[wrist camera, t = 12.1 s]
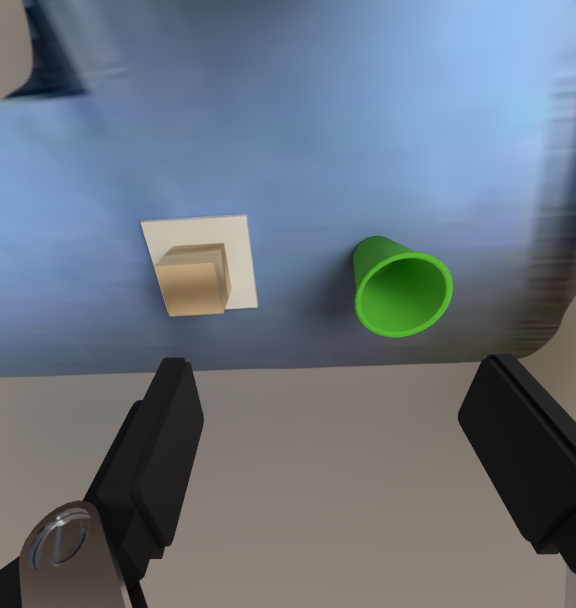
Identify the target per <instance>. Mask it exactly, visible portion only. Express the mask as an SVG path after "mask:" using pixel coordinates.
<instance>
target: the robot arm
mask: <svg viewBox="0 0 576 608" xmlns="http://www.w3.org/2000/svg"><path fill="white" fill-rule="evenodd" d="M458 421H459V423H460V426H461V427H462V429H463V431H464V433H465V435H466V436H467V438H468V440H469V442H470V443H471V445H472V447H473V449H474V451H475V452H476V454H477V456H478V458H479V459H480V461H481V463H482V465H483V467H484V468H485V470H486V472H487V474H488V476H489V477H490V479H491V481H492V483H493V485H494V486H495V488H496V490H497V492H498V494H499V495H500V497H501V499H502V501H503V503H504V504H505V506H506V508H507V510H508V511H509V513H510V515H511V517H512V519H513V520H514V522H515V524H516V526H517V528H518V529H519V531H520V533H521V534H522V536H523V537H524V538H525V539H526V540H528V541H529V542H531V544H532V546H533V548H534V550H535V551H536V553H537V554H558V553H559V552H560V554H561V555H562V557H563V559H564V560H565V562H566V564H567V567H566V590H565V608H576V422H575V421H574V420H573V419H572V418H571V417H570V416H569V415H568V413H567V412H566V411H565V410H564V409H563V408H562V407H561V406H560V405H559V404H558V403H557V402H556V401H555V400H554V398H552V396H551V395H550V394H549V393H548V392H547V391H546V390H545V389H544V388H543V387H542V386H541V385H540V384H539V382H538V381H537V380H536V379H535V378H534V377H533V376H532V375H531V374H530V373H529V372H528V371H527V370H526V369H525V367H524V366H523V365H521V363H520V362H519V361H518V360H517V359H516V358H515V357H514V356H513V355H510V354H491V355H488V356H487V358H486V359H484V360H482V362H481V364H480V366H479V368H478V371H477V373H476V375H475V377H474V379H473V382H472V384H471V386H470V388H469V390H468V392H467V395H466V397H465V399H464V401H463V403H462V406H461V408H460V410H459V412H458ZM203 422H204V417H203V412H202V408H201V404H200V400H199V395H198V391H197V387H196V383H195V379H194V375H193V371H192V367H191V363H190V362H185V359H184V358H164V359H163V360H162V362H161V364H160V366H159V368H158V370H157V372H156V374H155V376H154V378H153V380H152V382H151V384H150V386H149V388H148V390H147V393H146V395H145V397H144V399H143V400H138V401H136V402H135V403H134V404H133V406H132V407H131V409H130V411H129V413H128V415H127V417H126V419H125V420H124V422H123V424H122V426H121V428H120V430H119V432H118V434H117V436H116V438H115V440H114V441H113V443H112V445H111V447H110V449H109V451H108V453H107V455H106V457H105V459H104V461H103V463H102V464H101V466H100V468H99V470H98V472H97V474H96V476H95V478H94V480H93V482H92V484H91V486H90V488H89V489H88V491H87V493H86V495H85V497H84V499H83V501H74V502H70V503H66V504H64V505H62V506H60V507H58V508H56V509H55V510H53V511H52V512H51V513H49V514H48V515H47V516H45V517H44V518H43V519H42V520H41V521H40V522H39V523H38V524H37V525H36V526H35V527H34V529H33V530H32V531H31V533H30V534H29V536H28V537H27V539H26V540H25V543H24V545H23V547H22V550H21V553H20V556H19V557H17V558H16V559H15V560H13V561H12V562H11V563H9V564H8V565H6V566H5V567H4V568H2V569H1V570H0V608H152V607H151V604H150V601H149V598H148V595H147V592H146V589H145V586H144V584H143V581H142V578H143V577H144V576H145V573H146V570H147V567H148V563H149V560H150V559H162V557H163V553H164V549H165V546H170V545H171V543H172V541H173V539H174V535H175V531H176V528H177V524H178V520H179V515H180V512H181V508H182V504H183V501H184V497H185V493H186V489H187V486H188V482H189V478H190V474H191V470H192V466H193V462H194V459H195V455H196V451H197V447H198V443H199V440H200V436H201V432H202V428H203Z"/></svg>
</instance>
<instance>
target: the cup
mask: <svg viewBox="0 0 576 608" xmlns="http://www.w3.org/2000/svg"><path fill="white" fill-rule="evenodd" d="M353 265H354V275H355V284H356V294H355V298H354V305H355V312H356V314H357V317H358V319H359V320H360V322H361V323H362V324H363V326H365V327H366V328H367V329H369V330H370V331H371V332H374V333H376V334H379V335H381V336H386V337H404V336H409V335H413V334H415V333H418V332H420V331H423V330H424V329H426V328H427V327H429V326H431V325H432V324H433V323H434V322H436V321H437V320H438V319H439V318H440V317H441V316H442V314H443V313H444V311H445V310H446V309H447V307H448V305H449V302H450V300H451V297H452V290H453V283H452V277H451V274H450V272H449V270H448V268H447V266H446V265H445V264H443V263H442V262H441V261H440V260H439V259H438V258H436V257H434V256H432V255H430V254H426V253H421V252H415V251H412V250H410V249H408V248H406V247H404V246H402V245H400V244H398V243H396V242H394V241H392V240H390V239H387V238H385V237H382V236H373V237H370V238H367V239H365V240H364V241H362V242H361V243H360V244H359V245H358V247H357V248H356V250H355V252H354V255H353Z"/></svg>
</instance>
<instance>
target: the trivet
mask: <svg viewBox="0 0 576 608" xmlns="http://www.w3.org/2000/svg"><path fill="white" fill-rule="evenodd" d="M140 223H141V226H142V229H143V232H144V236H145V239H146V242H147V246H148V249H149V252H150V255H151V259H152V262H153V265H154V266H155V265H156V264H157V263H158V262H159V261H160V260H161V259H162V258H163V257H164V255H165V254H166V253H167V252H168V251H169V250H170V249H171V248H172V247H173V246H182V245H199V244H215V243H224V246H225V252H226V258H227V264H228V269H229V275H230V281H231V287H232V289H231V292H230V295H229V298H228V301H227V304H226V308H225V309H239V308H258V298H257V290H256V282H255V274H254V265H253V257H252V249H251V241H250V233H249V225H248V217H247V214H236V215H219V216H202V217H185V218H168V219H152V220H143V221H142V222H140ZM154 269H155V267H154ZM155 272H156V270H155ZM156 275H157V273H156ZM157 278H158V277H157ZM158 282H159V280H158ZM159 285H160V283H159ZM160 288H161V286H160ZM161 292H162V290H161ZM162 295H163V293H162ZM163 298H164V296H163ZM164 302H165V299H164ZM165 305H166V303H165ZM166 308H167V306H166ZM167 311H168V309H167Z"/></svg>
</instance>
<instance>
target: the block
mask: <svg viewBox="0 0 576 608" xmlns="http://www.w3.org/2000/svg"><path fill="white" fill-rule="evenodd" d="M154 267H155V270H156V273H157V277H158V280H159V283H160V286H161V290H162V293H163V296H164V299H165V303H166V306H167V309H168V312H169V316H186V315H204V314H222V313H224V311H225V308H226V304H227V301H228V298H229V295H230V292H231V289H232V287H231V281H230V275H229V269H228V264H227V258H226V252H225V246H224V243H215V244H199V245H182V246H173V247H172V248H171V249H170V250H169V251H168V252H167V253H166V254H165V255H164V257H163V258H162V259H161V260H160V261H159V262H158V263H157V264H156V265H155V266H154Z"/></svg>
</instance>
